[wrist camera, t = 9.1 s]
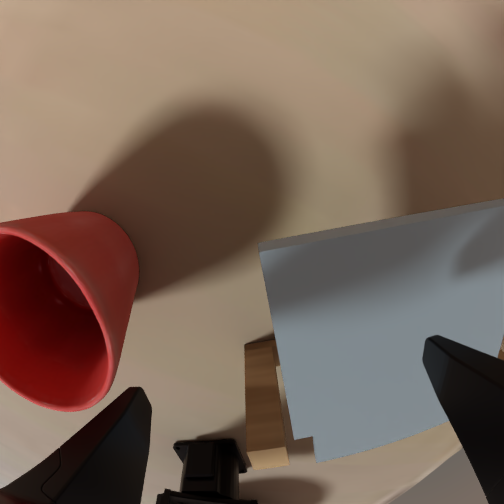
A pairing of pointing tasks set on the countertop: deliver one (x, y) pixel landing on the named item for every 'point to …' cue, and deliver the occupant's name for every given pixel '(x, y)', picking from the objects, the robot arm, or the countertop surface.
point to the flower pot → (64, 306)
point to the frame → (266, 406)
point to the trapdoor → (380, 319)
